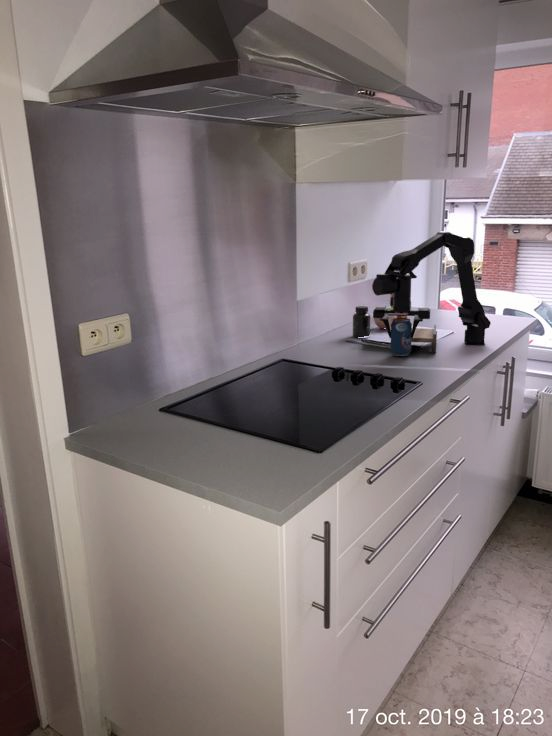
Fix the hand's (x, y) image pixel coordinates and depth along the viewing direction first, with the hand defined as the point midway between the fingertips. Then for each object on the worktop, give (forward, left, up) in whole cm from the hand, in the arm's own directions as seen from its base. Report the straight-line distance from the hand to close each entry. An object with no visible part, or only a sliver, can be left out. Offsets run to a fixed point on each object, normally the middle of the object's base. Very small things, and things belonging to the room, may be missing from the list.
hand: (401, 338), depth 211 cm
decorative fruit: (+9, -40, -7) cm, 42 cm away
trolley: (-5, -12, -6) cm, 15 cm away
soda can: (0, 0, -6) cm, 6 cm away
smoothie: (+5, -62, -7) cm, 63 cm away
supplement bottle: (+17, -27, -7) cm, 32 cm away
